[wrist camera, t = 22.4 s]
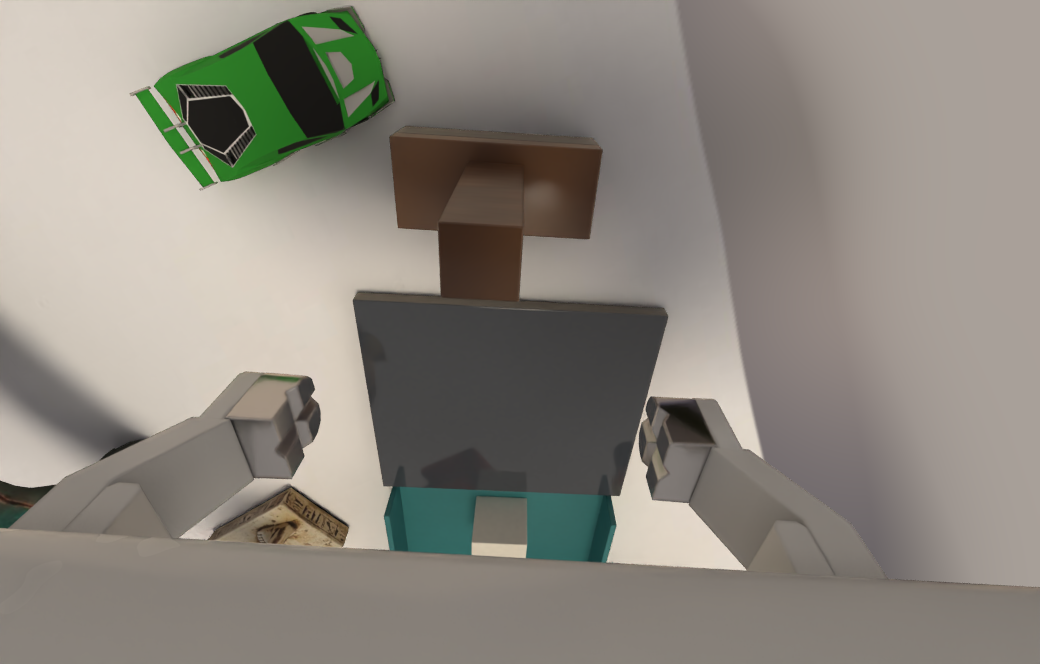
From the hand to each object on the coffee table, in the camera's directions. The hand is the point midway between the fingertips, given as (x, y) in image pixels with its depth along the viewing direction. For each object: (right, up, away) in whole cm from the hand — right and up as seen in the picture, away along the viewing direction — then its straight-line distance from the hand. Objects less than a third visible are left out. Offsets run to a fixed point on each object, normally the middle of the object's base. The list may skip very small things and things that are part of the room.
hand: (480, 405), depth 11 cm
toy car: (-10, +13, +10) cm, 19 cm away
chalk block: (-1, -13, +25) cm, 28 cm away
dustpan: (-1, -20, +30) cm, 36 cm away
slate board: (0, -3, +19) cm, 20 cm away
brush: (0, +10, +11) cm, 15 cm away
